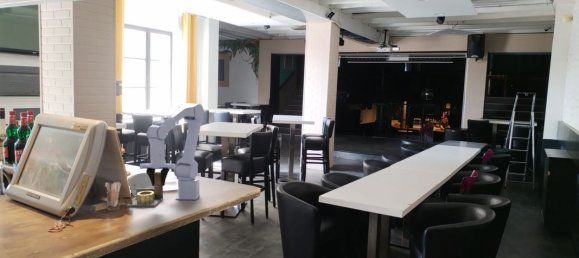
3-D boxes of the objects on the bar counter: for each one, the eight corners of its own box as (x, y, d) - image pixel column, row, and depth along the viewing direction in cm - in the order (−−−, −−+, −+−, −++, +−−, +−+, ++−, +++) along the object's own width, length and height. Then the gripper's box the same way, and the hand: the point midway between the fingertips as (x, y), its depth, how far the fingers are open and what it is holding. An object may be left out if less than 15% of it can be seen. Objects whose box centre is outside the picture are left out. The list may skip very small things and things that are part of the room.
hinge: (133, 196, 199) (127, 176, 200) (127, 198, 201) (121, 178, 202) (159, 188, 214) (154, 169, 214) (153, 190, 216) (148, 171, 216)
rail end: (164, 192, 182) (163, 171, 181) (161, 194, 179) (161, 173, 178) (155, 192, 182) (155, 171, 181) (153, 194, 179) (152, 173, 178)
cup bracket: (163, 199, 196) (162, 188, 195) (155, 207, 184) (154, 196, 183) (137, 198, 196) (136, 188, 195) (127, 206, 184) (126, 195, 183)
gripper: (136, 155, 174) (138, 187, 176) (172, 155, 174) (173, 188, 176) (142, 152, 181) (143, 183, 183) (176, 152, 181) (177, 183, 183)
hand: (158, 185), depth 180 cm, fingers closed on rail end, 3 cm apart
